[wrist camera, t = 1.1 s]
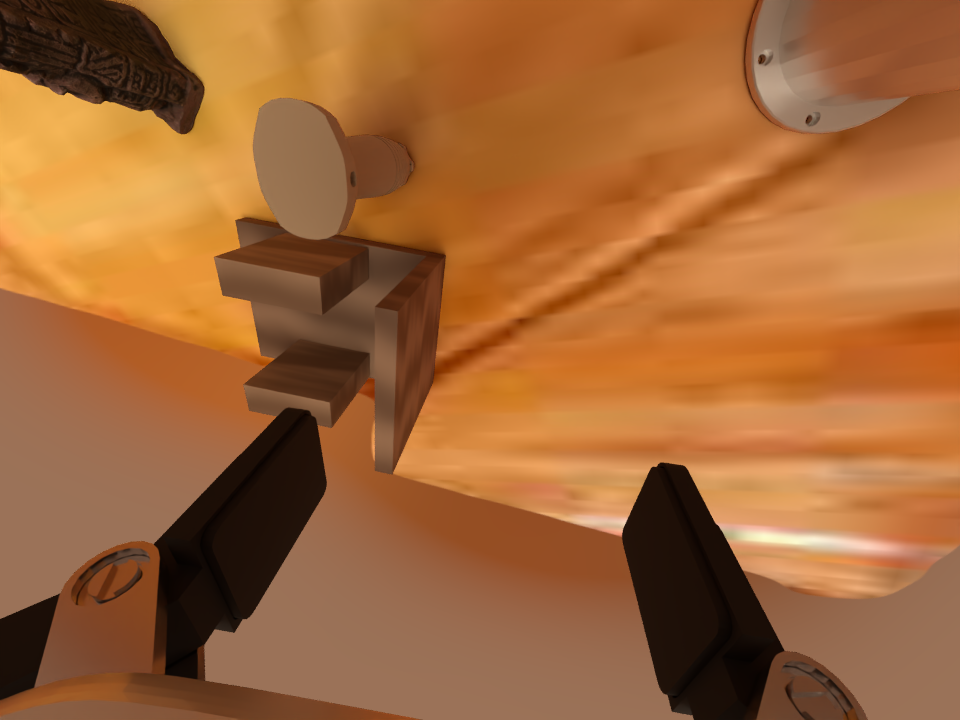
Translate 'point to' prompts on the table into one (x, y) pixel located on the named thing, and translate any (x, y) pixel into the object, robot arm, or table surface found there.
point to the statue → (98, 56)
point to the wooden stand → (338, 325)
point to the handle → (320, 167)
